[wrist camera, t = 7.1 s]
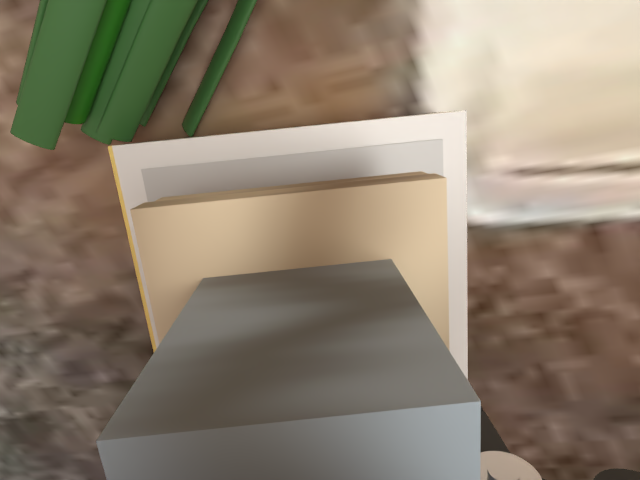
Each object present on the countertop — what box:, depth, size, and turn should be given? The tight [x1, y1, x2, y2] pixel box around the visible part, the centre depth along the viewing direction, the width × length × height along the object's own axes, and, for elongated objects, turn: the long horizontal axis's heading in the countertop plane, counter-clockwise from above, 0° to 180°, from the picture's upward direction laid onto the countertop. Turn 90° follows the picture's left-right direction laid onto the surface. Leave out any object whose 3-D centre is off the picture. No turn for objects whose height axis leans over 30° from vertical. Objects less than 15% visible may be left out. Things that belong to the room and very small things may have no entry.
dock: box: [108, 111, 468, 380], centre depth 21 cm, size 14×14×4 cm
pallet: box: [96, 171, 481, 480], centre depth 11 cm, size 8×11×8 cm
